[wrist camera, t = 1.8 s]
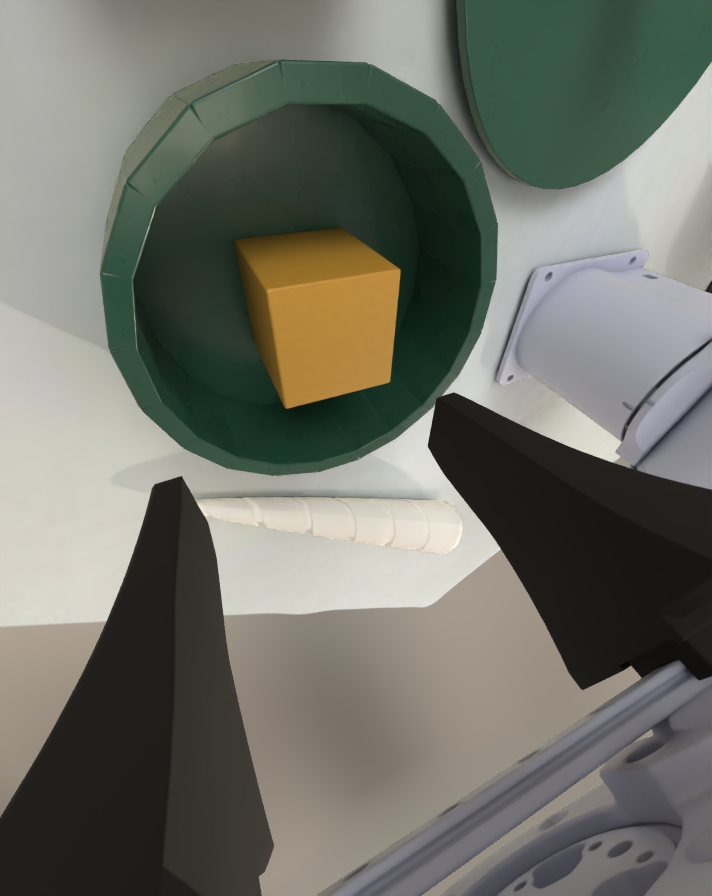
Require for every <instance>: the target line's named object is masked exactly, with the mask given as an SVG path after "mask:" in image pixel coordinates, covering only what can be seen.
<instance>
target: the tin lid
mask: <svg viewBox="0 0 712 896" xmlns="http://www.w3.org/2000/svg"><path fill="white" fill-rule="evenodd" d="M456 4H457V26H458V45H459V53H460V61H461V69H462V76H463V82H464V86H465V90H466V95H467V99H468V103H469V108H470V111H471V114H472V116H473V119H474V122H475V125H476V128H477V130H478V133H479V135H480V137H481V139H482V141H483V142H484V144H485V146H486V148H487V150H488V152H489V153H490V155H491V156H492V157H493V158H494V160H495V161H496V162H497V164H498V165H499V166H500V167H501V168H502V169H503V170H504V171H505V172H507V173H508V174H509V175H510V176H511V177H513V178H515V179H516V180H518V181H520V182H522V183H524V184H527V185H530V186H534V187H538V188H542V189H563V188H569V187H574V186H577V185H580V184H582V183H585V182H588V181H590V180H592V179H594V178H596V177H598V176H600V175H602V174H604V173H605V172H607V171H609V170H610V169H612V168H613V167H614V166H616V165H617V164H619V163H620V162H622V161H623V160H625V159H626V158H627V157H628V156H629V155H630V154H632V153H633V152H634V151H635V150H636V149H638V148H639V147H640V146H641V145H642V144H643V143H644V142H645V141H646V140H647V139H648V138H649V137H650V136H651V135H652V134H653V133H654V132H655V131H656V130H657V129H658V128H659V127H660V126H661V125H662V124H663V123H664V122H665V121H666V120H667V118H668V117H669V116H670V115H671V114H672V113H673V112H674V111H675V109H676V108H677V107H678V106H679V105H680V103H681V102H682V101H683V100H684V98H685V97H686V96H687V94H688V93H689V92H690V91H691V89H692V88H693V87H694V86H695V84H696V83H697V82H698V80H699V79H700V77H701V76H702V75H703V73H704V72H705V70H706V69H707V67H708V66H709V65H710V63H711V62H712V0H456Z"/></svg>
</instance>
